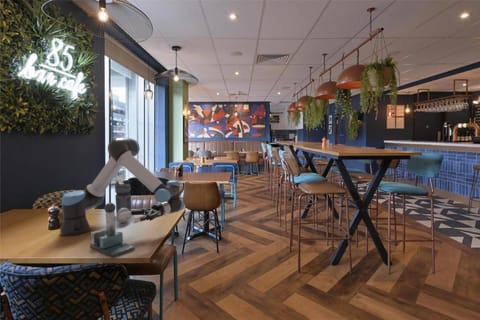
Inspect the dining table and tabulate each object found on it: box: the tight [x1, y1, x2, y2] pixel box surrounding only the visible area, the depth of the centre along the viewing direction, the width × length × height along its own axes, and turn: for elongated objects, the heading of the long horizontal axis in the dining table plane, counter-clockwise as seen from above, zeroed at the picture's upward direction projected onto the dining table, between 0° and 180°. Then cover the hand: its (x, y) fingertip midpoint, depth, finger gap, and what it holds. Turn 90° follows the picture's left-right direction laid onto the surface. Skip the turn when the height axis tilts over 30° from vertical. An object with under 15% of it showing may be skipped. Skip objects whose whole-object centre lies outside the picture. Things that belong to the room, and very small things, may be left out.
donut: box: [116, 208, 130, 224], centre depth 174 cm, size 10×4×10 cm, turn 160°
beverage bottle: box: [114, 179, 132, 215], centre depth 195 cm, size 10×13×25 cm
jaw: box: [100, 202, 124, 249], centre depth 133 cm, size 5×10×21 cm, turn 144°
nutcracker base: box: [89, 228, 135, 259], centre depth 133 cm, size 22×11×8 cm, turn 54°
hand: (126, 218), depth 139 cm, fingers open, 13 cm apart
